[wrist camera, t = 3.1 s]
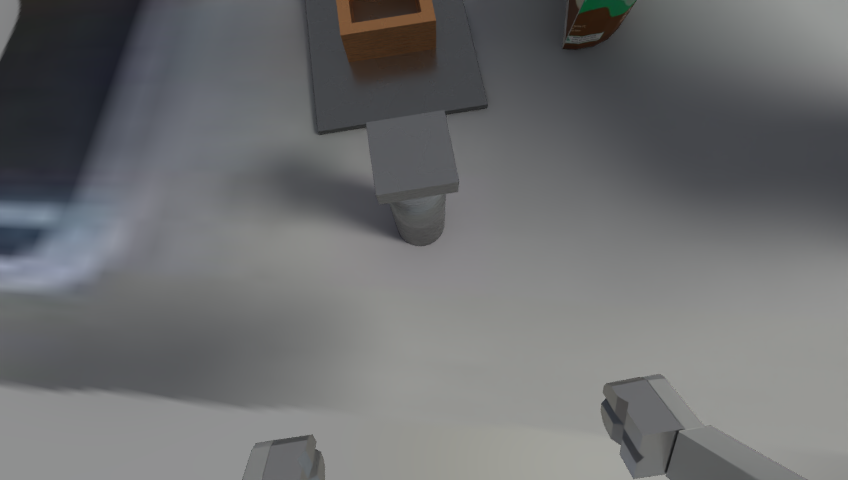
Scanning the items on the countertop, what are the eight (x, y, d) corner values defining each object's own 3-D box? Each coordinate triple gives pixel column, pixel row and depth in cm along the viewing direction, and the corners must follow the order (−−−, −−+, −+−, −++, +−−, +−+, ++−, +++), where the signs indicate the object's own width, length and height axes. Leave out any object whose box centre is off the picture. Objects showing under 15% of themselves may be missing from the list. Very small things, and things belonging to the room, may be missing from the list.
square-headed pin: (441, 195, 31) (444, 110, 20) (451, 243, 29) (459, 181, 19) (391, 203, 30) (365, 122, 20) (398, 252, 29) (375, 195, 19)
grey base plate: (444, -69, 38) (445, -110, 35) (486, 107, 32) (492, 79, 29) (301, -47, 38) (288, -86, 34) (319, 134, 32) (305, 109, 29)
